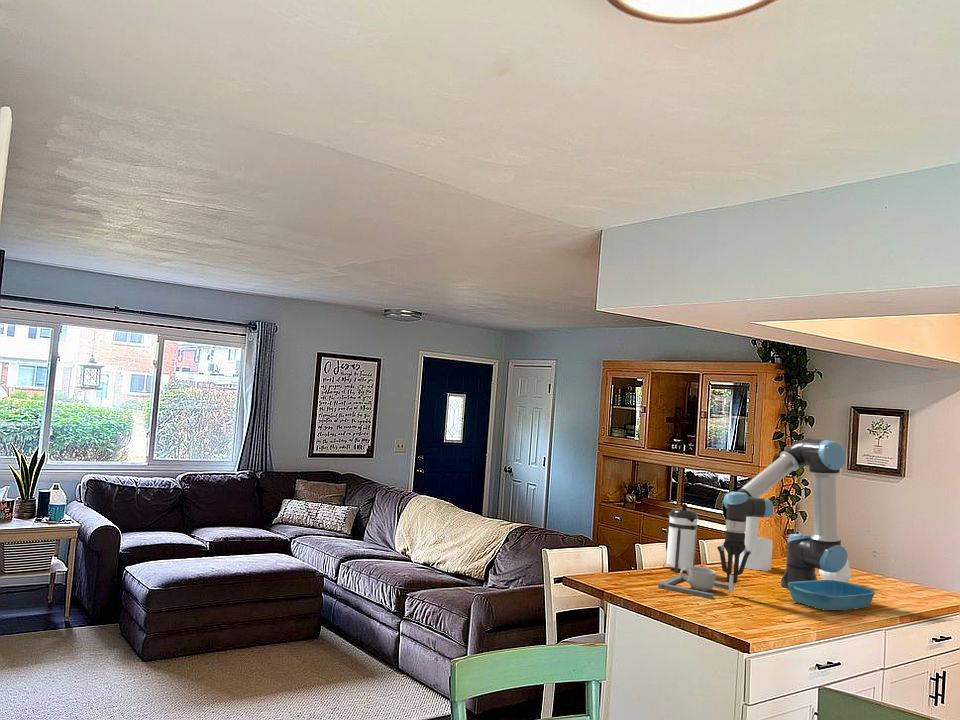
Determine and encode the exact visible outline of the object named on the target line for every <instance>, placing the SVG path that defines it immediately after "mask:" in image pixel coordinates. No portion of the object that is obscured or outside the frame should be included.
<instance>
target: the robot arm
mask: <svg viewBox="0 0 960 720" xmlns="http://www.w3.org/2000/svg"><path fill="white" fill-rule="evenodd" d="M846 455H847V454H846V451H845V449H844V448H843V446H842V445H841V444H840V443H838V442H836V441H834V440H833V441H832V440H829V439H818V438H817V439H816V438H804V439H801V440H798V441H796V442H794V443H792V444H791V445H789V446H788V447H786V448H785V449H784V450H783V451H781V453H779V457H778V458H777V459H775V460H774V461H773V462H772V463H770V464H769V465H768V466H767V467H765V468H764V469H762V471H760V472H759V473H758V474H756V476H754V477H753V478H751V479H750V480H749V481H748V482H747V483H745V484H744V485H743V486H742V487H741V488H740V489H738V490H737V491H729V492H727V493H726V494H725V495H724V497H723V500H722V501H723V506H724V507H725V509H726V517H725V518H726V520H725V529H726V530H725V532H724V533H725V534H724V541H723V543H722V544H721V545H719V546H717V550H718V553H719V557H720V558H719V559H720V563H721V569H722V571H723V572H724V573H726V582H727V583H728V584H729V589H728V592H729V593H733V592H735V584H738V577H739V576H741V575H743V573H744V571H745V569H744V568H745V565H746V562H747V559H748V556H749V555H750V554H751V551H748V550H747V549H746V546H745V533H744V532H745V530H746V517H759V518H762V519H764V518H770V517H771V516H772V515H773V513H774V509H775V507H774V503H773V502H772V501H771V500H770V499H769V498H763V497H762V496H763V495H764V494H766V493H767V492H768V491H769V490H770V489H772V488H773V487H774V486H775V485H777V484H778V483H779V482H781V481H782V480H784V478H785V477H787V475H789V474H790V473H792V472H793V471H794V472H796V471H797V470H799V469H801V468H802V467H809V471H808V472H809V473H810V474H811V475H812V476H813V479H812V480H813V482H812V485H813V531H814V533H813V534H805V533H804V534H803V533H791V534H790V533H789V535H788V540H787V548H786V549H787V550H786V567H785V570H784V573H783V575H782V577H781V580H780V585H781V587H783V588H787V589H789V587H788V583H789V582H798V581H815V580H818V578H817V577H818V576H817V573H816V569H817V570H819V569H820V570H823V571H825V572H832V573H835V572H838V571H840V570H841V569H842V568H843V567H844V566H845V564H846V562H847V558H848V557H849V556H848V555H849V554H848V551H847V550H846V548H845V547H844V546H842V539H841V538H840V536H839V535H838V532H837V527H838V526H837V521H838V520H837V482H836V481H837V479H836V478H837V477H838V475H840V473H841V471H840V470H841V469H842V468H843V467H844V465H846V460H847V457H846ZM725 550H726V552H727V560H726V554H725ZM743 551H744V557H743V560H742V563H741V566H740V567H739V557H740V554H741V553H742V552H743ZM848 559H849V558H848ZM733 560H734V565H733ZM732 571H733V572H732Z"/></svg>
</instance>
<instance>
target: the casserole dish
mask: <svg viewBox="0 0 960 720" xmlns="http://www.w3.org/2000/svg"><path fill="white" fill-rule="evenodd" d="M788 587H789V588H788V590H789V594H790V597H791V599H792V600H793V601H796V603H797V602H798V604H800V603H802V604H801V605H803V604H805V605H804V606H806V605H809V606H808V607H810V606H812V607H811V608H813V607H816V608H819V609H818V610H820V609H824V610H823V611H825V610H843V611H848V610H847V609H854V610H856V609H855V608H862V609H865V608H867V607H868V606H870V605H871V603H872V601H873V598H874V595H875V594H876V592H875V590H872V589H870V588H867V587H866V586H862V585H859V584H855V583H851V582H847V583H846V582H841V581H834V580H823V579H820V580H819V579H817V580H815V581H798V582H789V583H788ZM864 607H865V608H864ZM816 608H815V609H816Z"/></svg>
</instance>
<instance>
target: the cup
mask: <svg viewBox="0 0 960 720" xmlns="http://www.w3.org/2000/svg"><path fill="white" fill-rule="evenodd" d="M818 573H819V575H820V577H821V580H834V581H841V582H846V583H849V581H850V579H851V578H852V573H851V568H850V562H849V558H847V562H846V564H845V566H844V567H843V568H842V569H841V570H840V571H838V572H835V573H832V572H825V571H823V570H820V569H818Z"/></svg>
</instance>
